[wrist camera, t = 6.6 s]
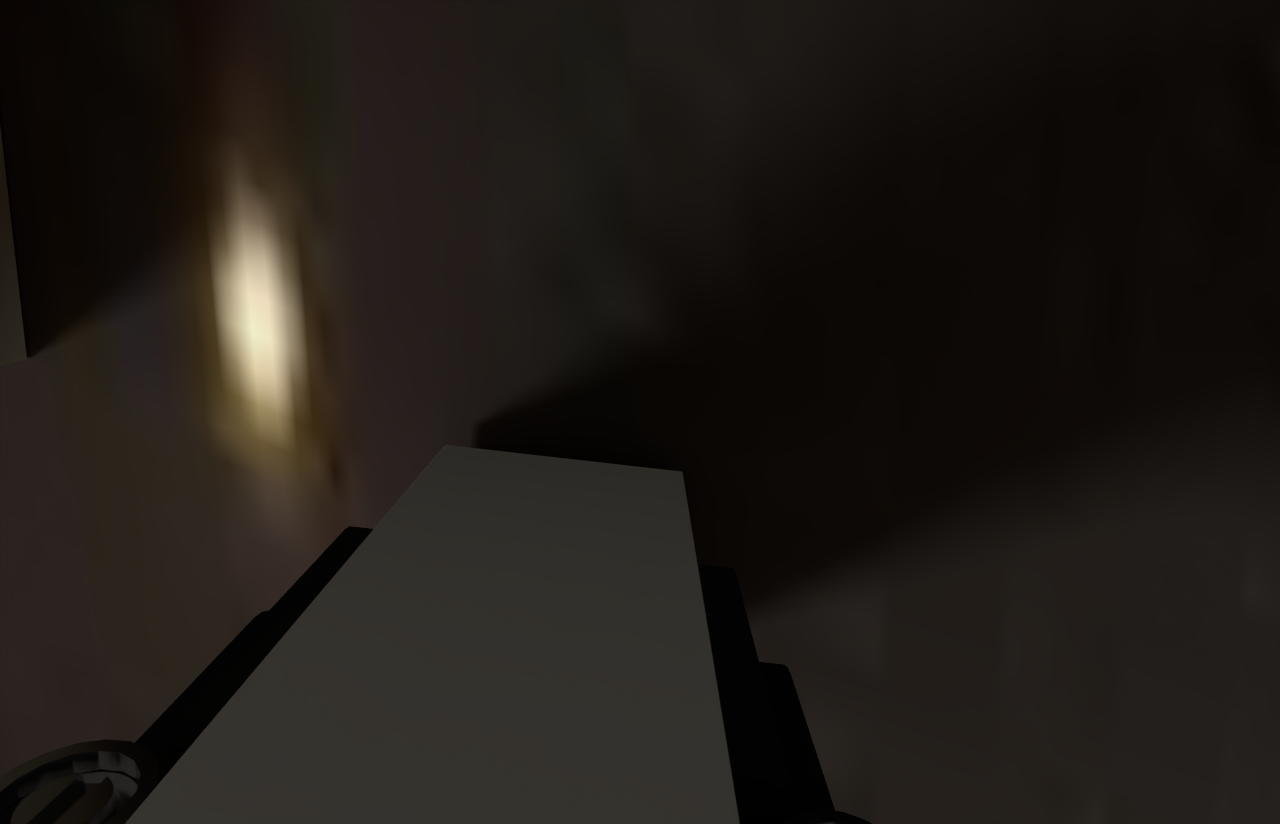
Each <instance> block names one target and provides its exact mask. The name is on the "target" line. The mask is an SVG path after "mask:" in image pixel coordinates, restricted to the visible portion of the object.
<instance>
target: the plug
mask: <svg viewBox="0 0 1280 824" xmlns="http://www.w3.org/2000/svg"><path fill="white" fill-rule="evenodd" d="M125 824H740V822H739V816H738V810H737V804H736V798H735V792H734V785H733V779H732V773H731V767H730V761H729V755H728V749H727V742H726V736H725V730H724V724H723V718H722V712H721V706H720V700H719V693H718V687H717V681H716V675H715V669H714V663H713V657H712V650H711V644H710V638H709V632H708V626H707V620H706V614H705V608H704V601H703V595H702V589H701V583H700V577H699V571H698V565H697V558H696V552H695V546H694V540H693V534H692V528H691V522H690V515H689V509H688V503H687V497H686V491H685V485H684V479H683V473H682V472H680V471H671V470H663V469H654V468H645V467H636V466H627V465H619V464H610V463H601V462H592V461H583V460H574V459H566V458H557V457H548V456H539V455H530V454H521V453H513V452H504V451H495V450H486V449H477V448H469V447H460V446H451V445H444V446H443V448H442V449H441V450H440V451H439V452H438V453H437V455H436V456H435V457H434V458H433V459H432V461H431V462H430V463H429V464H428V465H427V467H426V468H425V469H424V470H423V471H422V472H421V474H420V475H419V476H418V477H417V478H416V480H415V481H414V482H413V483H412V484H411V485H410V487H409V488H408V489H407V490H406V491H405V493H404V494H403V495H402V496H401V497H400V499H399V500H398V501H397V502H396V503H395V504H394V506H393V507H392V508H391V509H390V510H389V512H388V513H387V514H386V515H385V516H384V517H383V519H382V520H381V521H380V522H379V523H378V525H377V526H376V527H375V528H374V529H373V531H372V532H371V533H370V534H369V535H368V536H367V538H366V539H365V540H364V541H363V542H362V544H361V545H360V546H359V547H358V548H357V549H356V551H355V552H354V553H353V554H352V555H351V557H350V558H349V559H348V560H347V561H346V562H345V564H344V565H343V566H342V567H341V568H340V570H339V571H338V572H337V573H336V574H335V576H334V577H333V578H332V579H331V580H330V581H329V583H328V584H327V585H326V586H325V587H324V589H323V590H322V591H321V592H320V593H319V594H318V596H317V597H316V598H315V599H314V600H313V602H312V603H311V604H310V605H309V606H308V608H307V609H306V610H305V611H304V612H303V613H302V615H301V616H300V617H299V618H298V619H297V621H296V622H295V623H294V624H293V625H292V626H291V628H290V629H289V630H288V631H287V632H286V634H285V635H284V636H283V637H282V638H281V640H280V641H279V642H278V643H277V644H276V645H275V647H274V648H273V649H272V650H271V651H270V653H269V654H268V655H267V656H266V657H265V658H264V660H263V661H262V662H261V663H260V664H259V666H258V667H257V668H256V669H255V670H254V672H253V673H252V674H251V675H250V676H249V677H248V679H247V680H246V681H245V682H244V683H243V685H242V686H241V687H240V688H239V689H238V690H237V692H236V693H235V694H234V695H233V696H232V698H231V699H230V700H229V701H228V702H227V703H226V705H225V706H224V707H223V708H222V709H221V711H220V712H219V713H218V714H217V715H216V717H215V718H214V719H213V720H212V721H211V722H210V724H209V725H208V726H207V727H206V728H205V730H204V731H203V732H202V733H201V734H200V735H199V737H198V738H197V739H196V740H195V741H194V743H193V744H192V745H191V746H190V747H189V749H188V750H187V751H186V752H185V753H184V754H183V756H182V757H181V758H180V759H179V760H178V762H177V763H176V764H175V765H174V766H173V767H172V769H171V770H170V771H169V772H168V773H167V775H166V776H165V777H164V778H163V779H162V781H161V782H160V783H159V784H158V785H157V786H156V788H155V789H154V790H153V791H152V792H151V794H150V795H149V796H148V797H147V798H146V799H145V801H144V802H143V803H142V804H141V805H140V807H139V808H138V809H137V810H136V811H135V812H134V814H133V815H132V816H131V817H130V818H129V820H128V821H127V822H126V823H125Z"/></svg>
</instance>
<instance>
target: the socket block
mask: <svg viewBox="0 0 1280 824" xmlns="http://www.w3.org/2000/svg"><path fill="white" fill-rule="evenodd" d="M26 359H27V355H26V347H25V338H24V329H23V320H22V311H21V303H20V294H19V285H18V276H17V268H16V259H15V250H14V241H13V232H12V224H11V215H10V206H9V197H8V188H7V180H6V171H5V162H4V153H3V145H2V136H1V127H0V365H3V364H8V363H12V362H17V361H21V360H26Z"/></svg>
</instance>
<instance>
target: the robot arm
mask: <svg viewBox="0 0 1280 824" xmlns="http://www.w3.org/2000/svg"><path fill="white" fill-rule="evenodd" d="M372 531H373V529H369V528H360V527H350V526H349V527H348V528H346V529H345V530H344V531H343V532H342V533H341V534H340V535H339V536H338V537H337V539H336V540H335V541H334V542H333V543H332V544H331V545H330V546H329V547H328V548H327V549H326V550H325V551H324V552H323V554H322V555H321V556H320V557H319V558H318V559H317V560H316V561H315V562H314V563H313V564H312V565H311V566H310V567H309V569H308V570H307V571H306V572H305V573H304V574H303V575H302V576H301V577H300V578H299V579H298V580H297V581H296V582H295V584H294V585H293V586H292V587H291V588H290V589H289V590H288V591H287V592H286V593H285V594H284V595H283V596H282V597H281V599H280V600H279V601H278V602H277V603H276V604H275V605H274V606H273V607H272V608H271V609H270V610H269V611H264V612H261V613H260V614H259V615H257V616H256V617H255V618H254V619H253V620H252V621H251V622H250V623H249V624H248V625H247V626H246V627H245V628H244V629H243V630H242V631H241V632H240V633H239V634H238V635H237V636H236V637H235V638H234V640H233V641H232V642H231V643H230V644H229V645H228V646H227V647H226V648H225V649H224V650H223V651H222V652H221V653H220V654H219V655H218V656H217V657H216V658H215V659H214V660H213V662H212V663H211V664H210V665H209V666H208V667H207V668H206V669H205V670H204V671H203V672H202V673H201V674H200V675H199V676H198V677H197V678H196V679H195V680H194V681H193V682H192V684H191V685H190V686H189V687H188V688H187V689H186V690H185V691H184V692H183V693H182V694H181V695H180V696H179V697H178V698H177V699H176V700H175V701H174V702H173V703H172V704H171V706H170V707H169V708H168V709H167V710H166V711H165V712H164V713H163V714H162V715H161V716H160V717H159V718H158V719H157V720H156V721H155V722H154V723H153V724H152V725H151V726H150V728H149V729H148V730H147V731H146V732H145V733H144V734H143V735H142V736H141V737H140V738H139V739H138V740H137V741H136V742H135V743H133V742H130V741H120V740H107V739H106V740H98V741H90V742H82V743H77V744H74V745H70V746H67V747H63V748H60V749H56V750H53V751H49V752H47V753H45V754H43V755H40V756H38V757H36V758H34V759H31V760H29V761H27V762H25V763H23V764H20V765H18V766H17V767H15V768H14V769H12V770H11V771H9V772H7V773H6V774H4V775H3V776H1V777H0V824H125V823H126V822H127V821H128V820H129V818H130V817H131V816H132V815H133V814H134V812H135V811H136V810H137V809H138V808H139V807H140V805H141V804H142V803H143V802H144V801H145V799H146V798H147V797H148V796H149V795H150V794H151V792H152V791H153V790H154V789H155V788H156V786H157V785H158V784H159V783H160V782H161V781H162V779H163V778H164V777H165V776H166V775H167V773H168V772H169V771H170V770H171V769H172V767H173V766H174V765H175V764H176V763H177V762H178V760H179V759H180V758H181V757H182V756H183V754H184V753H185V752H186V751H187V750H188V749H189V747H190V746H191V745H192V744H193V743H194V741H195V740H196V739H197V738H198V737H199V735H200V734H201V733H202V732H203V731H204V730H205V728H206V727H207V726H208V725H209V724H210V722H211V721H212V720H213V719H214V718H215V717H216V715H217V714H218V713H219V712H220V711H221V709H222V708H223V707H224V706H225V705H226V703H227V702H228V701H229V700H230V699H231V698H232V696H233V695H234V694H235V693H236V692H237V690H238V689H239V688H240V687H241V686H242V685H243V683H244V682H245V681H246V680H247V679H248V677H249V676H250V675H251V674H252V673H253V672H254V670H255V669H256V668H257V667H258V666H259V664H260V663H261V662H262V661H263V660H264V658H265V657H266V656H267V655H268V654H269V653H270V651H271V650H272V649H273V648H274V647H275V645H276V644H277V643H278V642H279V641H280V640H281V638H282V637H283V636H284V635H285V634H286V632H287V631H288V630H289V629H290V628H291V626H292V625H293V624H294V623H295V622H296V621H297V619H298V618H299V617H300V616H301V615H302V613H303V612H304V611H305V610H306V609H307V608H308V606H309V605H310V604H311V603H312V602H313V600H314V599H315V598H316V597H317V596H318V594H319V593H320V592H321V591H322V590H323V589H324V587H325V586H326V585H327V584H328V583H329V581H330V580H331V579H332V578H333V577H334V576H335V574H336V573H337V572H338V571H339V570H340V568H341V567H342V566H343V565H344V564H345V562H346V561H347V560H348V559H349V558H350V557H351V555H352V554H353V553H354V552H355V551H356V549H357V548H358V547H359V546H360V545H361V544H362V542H363V541H364V540H365V539H366V538H367V536H368V535H369V534H370V533H371V532H372ZM697 565H698V564H697ZM698 571H699V577H700V583H701V589H702V595H703V601H704V608H705V614H706V620H707V626H708V632H709V638H710V644H711V650H712V657H713V663H714V669H715V675H716V681H717V687H718V693H719V700H720V706H721V712H722V718H723V724H724V730H725V736H726V742H727V749H728V755H729V761H730V767H731V773H732V779H733V785H734V792H735V798H736V804H737V810H738V816H739V822H740V824H871V823H870V822H868V821H866V820H864V819H861V818H859V817H856V816H853V815H850V814H848V813H845V812H840V811H835V809H834V806H833V803H832V800H831V797H830V794H829V791H828V787H827V784H826V781H825V778H824V775H823V772H822V769H821V766H820V763H819V760H818V757H817V754H816V751H815V748H814V744H813V741H812V738H811V735H810V732H809V729H808V726H807V723H806V720H805V717H804V714H803V711H802V708H801V704H800V701H799V698H798V695H797V692H796V689H795V686H794V683H793V680H792V677H791V674H790V672H789V670H788V668H787V667H786V666H785V665H783V664H773V663H764V662H759V660H758V656H757V653H756V649H755V645H754V641H753V637H752V634H751V630H750V626H749V622H748V619H747V615H746V611H745V607H744V603H743V600H742V596H741V592H740V588H739V584H738V581H737V577H736V573H735V570H734V569H733V568H725V567H716V566H707V565H698Z"/></svg>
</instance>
